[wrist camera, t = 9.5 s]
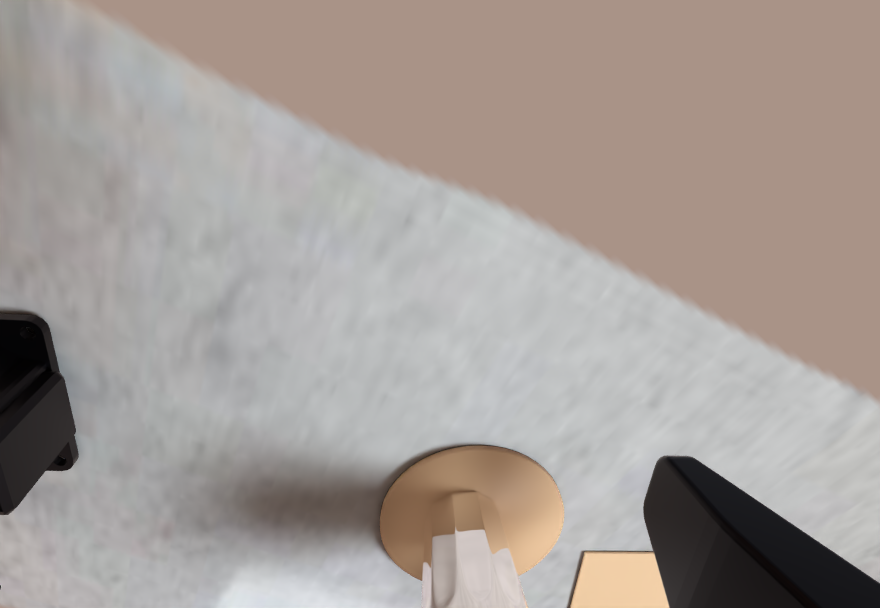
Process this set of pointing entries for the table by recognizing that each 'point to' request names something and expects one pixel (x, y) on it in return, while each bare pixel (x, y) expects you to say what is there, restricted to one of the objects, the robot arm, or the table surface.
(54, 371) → the robot arm
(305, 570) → the table surface
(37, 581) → the table surface
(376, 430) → the table surface
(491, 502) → the milkshake
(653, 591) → the envelope
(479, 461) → the coaster
